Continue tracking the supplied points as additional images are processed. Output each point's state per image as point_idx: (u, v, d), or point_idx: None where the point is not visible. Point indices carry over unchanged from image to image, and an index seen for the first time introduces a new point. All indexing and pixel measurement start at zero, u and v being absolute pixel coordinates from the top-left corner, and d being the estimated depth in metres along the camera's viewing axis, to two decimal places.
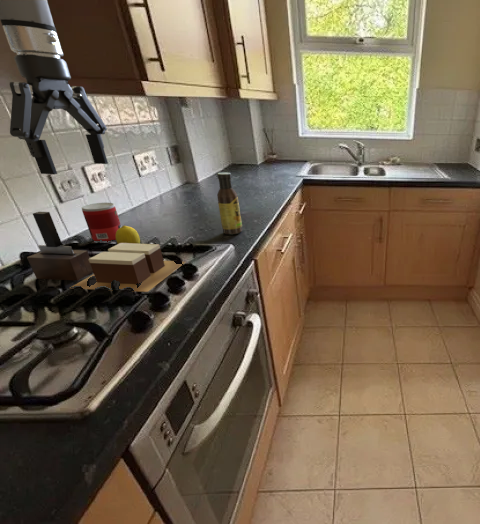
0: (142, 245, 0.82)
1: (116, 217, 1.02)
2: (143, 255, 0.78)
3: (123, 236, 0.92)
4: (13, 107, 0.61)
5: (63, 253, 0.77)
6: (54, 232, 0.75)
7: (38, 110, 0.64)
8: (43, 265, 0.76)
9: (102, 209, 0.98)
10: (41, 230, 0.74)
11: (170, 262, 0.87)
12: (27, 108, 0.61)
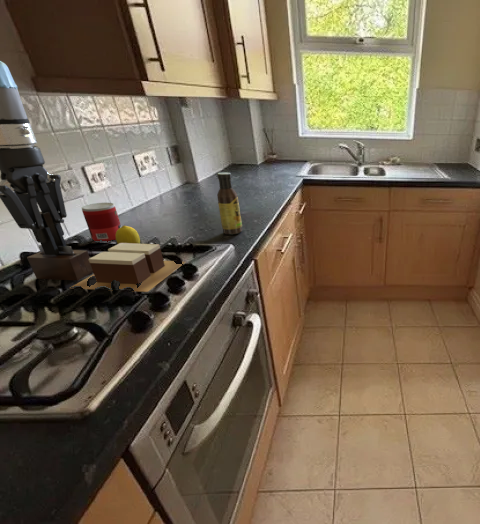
0: (142, 245, 0.82)
1: (116, 217, 1.02)
2: (143, 255, 0.78)
3: (123, 236, 0.92)
4: (7, 207, 0.67)
5: (63, 253, 0.77)
6: (54, 232, 0.75)
7: (27, 201, 0.70)
8: (43, 265, 0.76)
9: (102, 209, 0.98)
10: None
11: (170, 262, 0.87)
12: (19, 205, 0.68)
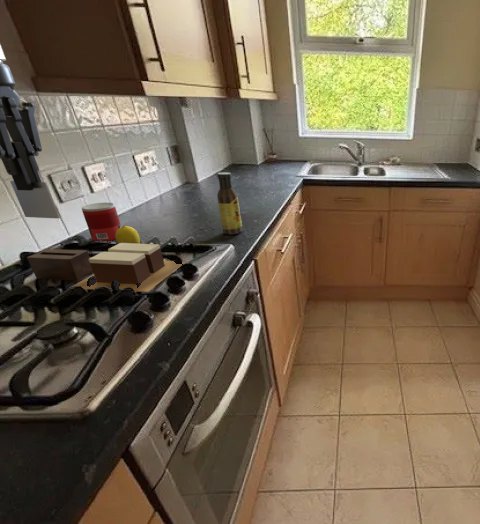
0: (142, 245, 0.82)
1: (116, 217, 1.02)
2: (143, 255, 0.78)
3: (123, 236, 0.92)
4: None
5: (37, 190, 0.71)
6: (27, 165, 0.69)
7: None
8: (43, 265, 0.76)
9: (102, 209, 0.98)
10: None
11: (170, 262, 0.87)
12: None
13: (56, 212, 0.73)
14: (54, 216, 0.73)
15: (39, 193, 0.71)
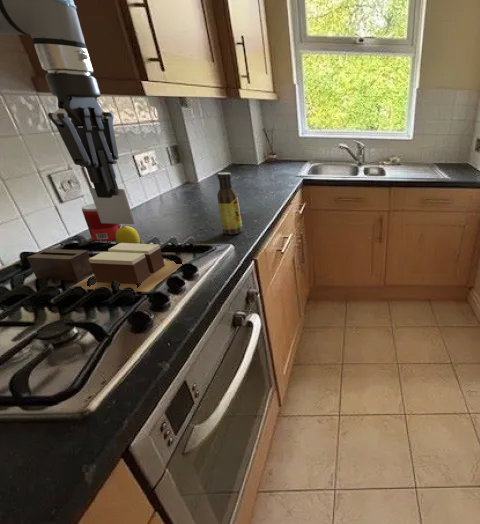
0: (142, 245, 0.82)
1: None
2: (143, 255, 0.78)
3: (123, 236, 0.92)
4: (64, 139, 0.63)
5: (115, 197, 0.73)
6: (107, 173, 0.71)
7: (82, 136, 0.66)
8: (43, 265, 0.76)
9: None
10: None
11: (170, 262, 0.87)
12: (76, 137, 0.63)
13: (132, 218, 0.75)
14: (129, 221, 0.75)
15: (117, 200, 0.73)
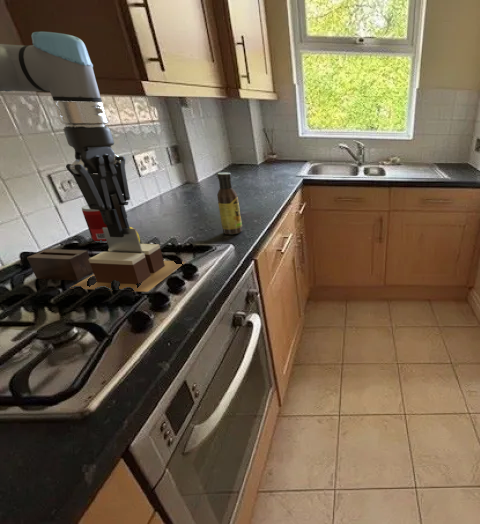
0: (142, 245, 0.82)
1: None
2: (143, 255, 0.78)
3: None
4: (80, 187, 0.67)
5: (127, 236, 0.77)
6: (119, 214, 0.75)
7: (97, 182, 0.69)
8: (43, 265, 0.76)
9: None
10: None
11: (170, 262, 0.87)
12: (92, 185, 0.67)
13: None
14: None
15: (128, 238, 0.77)
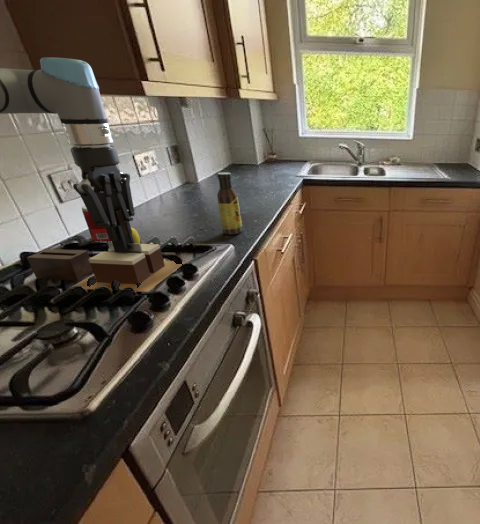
0: (142, 245, 0.82)
1: None
2: (143, 255, 0.78)
3: None
4: (86, 205, 0.69)
5: (132, 250, 0.78)
6: (124, 230, 0.76)
7: (103, 200, 0.71)
8: (43, 265, 0.76)
9: None
10: None
11: (170, 262, 0.87)
12: (98, 204, 0.69)
13: None
14: None
15: None
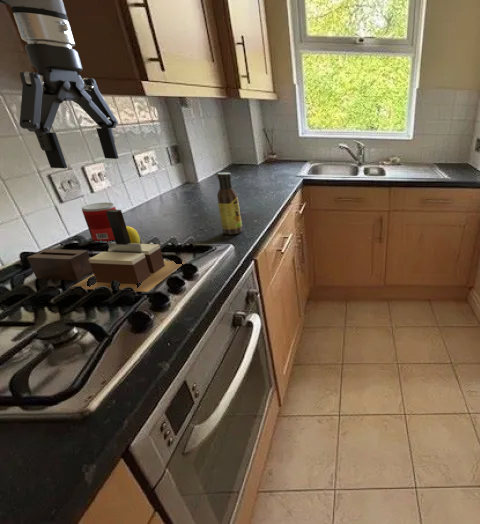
0: (142, 245, 0.82)
1: None
2: (143, 255, 0.78)
3: None
4: (23, 98, 0.58)
5: (132, 250, 0.78)
6: (124, 230, 0.76)
7: (49, 101, 0.62)
8: (43, 265, 0.76)
9: (102, 209, 0.98)
10: (113, 228, 0.75)
11: (170, 262, 0.87)
12: (38, 99, 0.59)
13: None
14: None
15: None
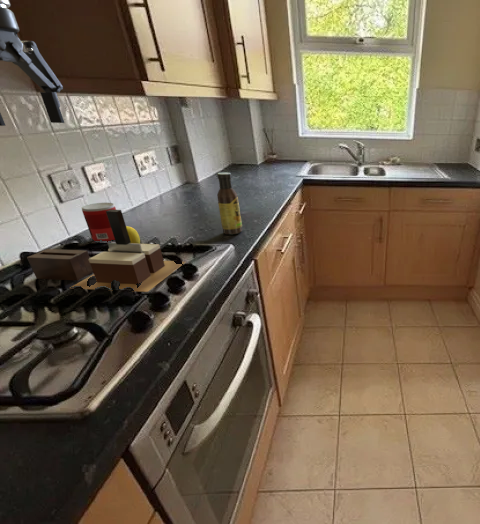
0: (142, 245, 0.82)
1: None
2: (143, 255, 0.78)
3: None
4: None
5: (132, 250, 0.78)
6: (124, 230, 0.76)
7: None
8: (43, 265, 0.76)
9: (102, 209, 0.98)
10: (113, 228, 0.75)
11: (170, 262, 0.87)
12: None
13: None
14: None
15: None
